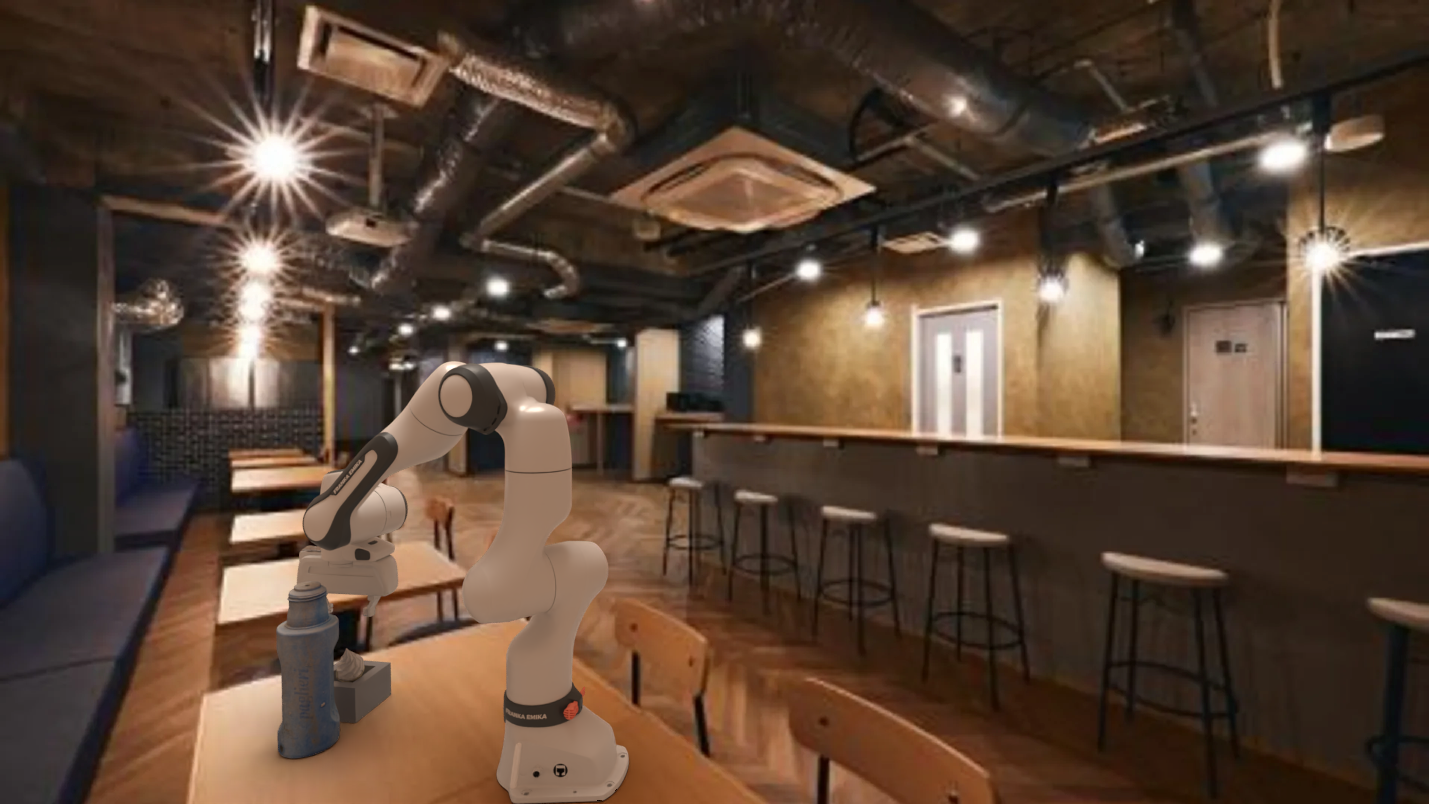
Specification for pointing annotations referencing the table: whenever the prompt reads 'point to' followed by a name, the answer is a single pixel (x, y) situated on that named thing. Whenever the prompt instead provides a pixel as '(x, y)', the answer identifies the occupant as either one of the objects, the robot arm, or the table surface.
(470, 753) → the table surface
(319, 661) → the bottle
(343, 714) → the box
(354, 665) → the ice cream cone
